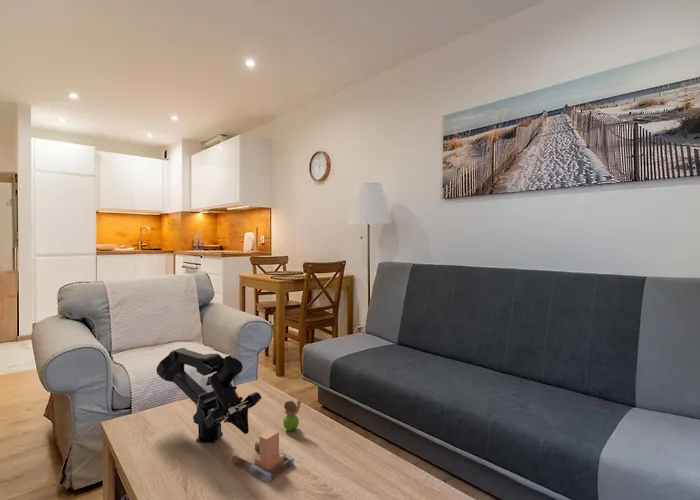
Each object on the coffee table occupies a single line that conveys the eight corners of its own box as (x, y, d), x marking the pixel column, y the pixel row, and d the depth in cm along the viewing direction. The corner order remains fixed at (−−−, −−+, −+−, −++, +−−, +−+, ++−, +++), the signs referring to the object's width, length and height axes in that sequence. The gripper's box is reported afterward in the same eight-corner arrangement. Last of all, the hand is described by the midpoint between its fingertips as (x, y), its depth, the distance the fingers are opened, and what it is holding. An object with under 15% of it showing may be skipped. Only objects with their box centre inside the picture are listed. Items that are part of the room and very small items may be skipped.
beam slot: (231, 463, 122) (231, 456, 122) (257, 447, 130) (257, 441, 130) (268, 482, 113) (268, 475, 113) (293, 464, 122) (293, 457, 121)
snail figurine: (298, 434, 139) (298, 400, 138) (280, 432, 140) (280, 398, 139) (303, 426, 144) (303, 394, 143) (286, 424, 145) (286, 392, 144)
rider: (255, 468, 119) (254, 435, 119) (269, 458, 124) (269, 426, 124) (269, 475, 116) (268, 441, 115) (284, 465, 121) (283, 432, 120)
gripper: (235, 392, 142) (257, 432, 136) (187, 412, 127) (210, 458, 121) (250, 375, 137) (273, 416, 131) (203, 395, 121) (226, 442, 116)
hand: (247, 433), depth 125 cm, fingers closed
